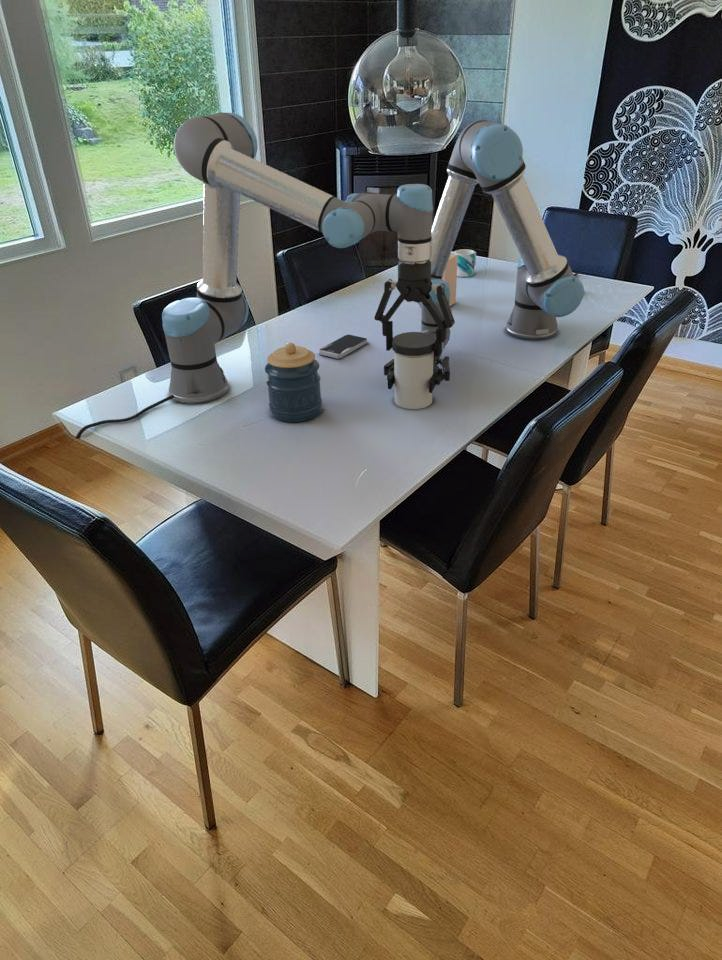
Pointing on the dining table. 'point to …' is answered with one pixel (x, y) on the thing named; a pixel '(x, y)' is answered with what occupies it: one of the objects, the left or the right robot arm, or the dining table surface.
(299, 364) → the canister
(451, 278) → the soap dispenser
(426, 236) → the left robot arm
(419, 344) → the lid
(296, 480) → the dining table surface
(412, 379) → the jar
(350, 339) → the smartphone
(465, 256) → the mug
